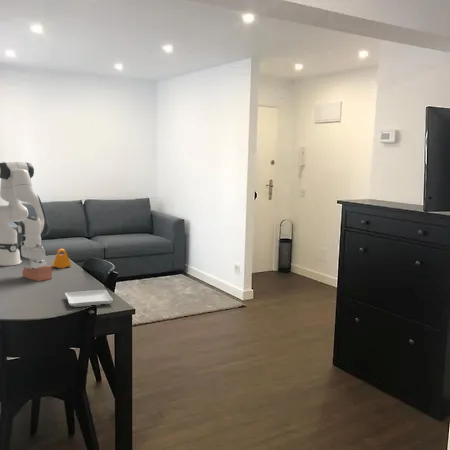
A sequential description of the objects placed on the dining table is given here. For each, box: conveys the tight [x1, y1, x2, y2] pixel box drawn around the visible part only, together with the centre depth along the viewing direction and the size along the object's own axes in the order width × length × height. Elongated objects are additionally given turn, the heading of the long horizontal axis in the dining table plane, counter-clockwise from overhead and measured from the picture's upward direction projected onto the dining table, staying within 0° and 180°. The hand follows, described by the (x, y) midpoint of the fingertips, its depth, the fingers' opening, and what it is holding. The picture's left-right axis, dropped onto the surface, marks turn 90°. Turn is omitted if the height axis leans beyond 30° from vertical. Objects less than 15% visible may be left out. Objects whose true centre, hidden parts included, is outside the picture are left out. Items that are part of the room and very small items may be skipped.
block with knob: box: [31, 261, 48, 270], centre depth 295 cm, size 8×5×6 cm, turn 53°
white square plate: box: [64, 289, 114, 308], centre depth 252 cm, size 21×21×3 cm
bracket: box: [52, 248, 71, 269], centre depth 330 cm, size 11×7×12 cm, turn 113°
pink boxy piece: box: [22, 265, 53, 282], centre depth 297 cm, size 16×9×8 cm, turn 53°
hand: (33, 266), depth 299 cm, fingers closed
